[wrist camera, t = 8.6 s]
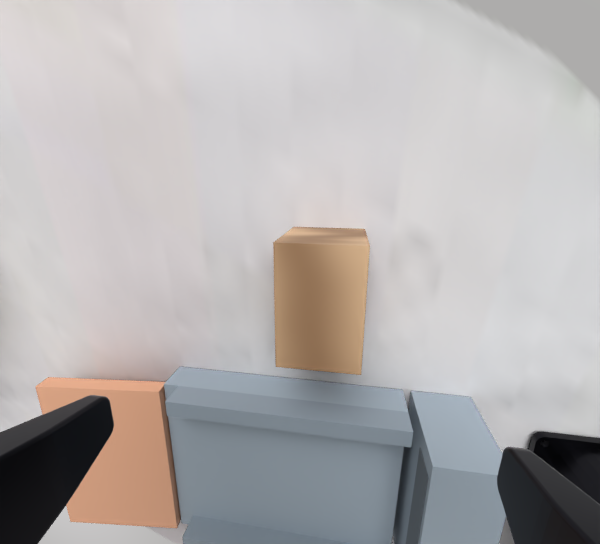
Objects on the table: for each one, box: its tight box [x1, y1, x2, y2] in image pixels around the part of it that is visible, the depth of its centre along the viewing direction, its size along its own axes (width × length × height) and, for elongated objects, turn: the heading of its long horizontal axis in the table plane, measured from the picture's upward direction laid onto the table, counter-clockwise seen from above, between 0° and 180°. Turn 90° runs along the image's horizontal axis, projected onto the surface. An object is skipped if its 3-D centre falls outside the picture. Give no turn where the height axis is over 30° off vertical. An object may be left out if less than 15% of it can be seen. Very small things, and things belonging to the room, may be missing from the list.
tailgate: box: [36, 377, 181, 528], centre depth 22 cm, size 1×12×8 cm
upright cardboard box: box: [273, 227, 370, 375], centre depth 16 cm, size 4×6×5 cm, turn 0°
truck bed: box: [164, 367, 506, 544], centre depth 19 cm, size 19×12×6 cm, turn 89°
